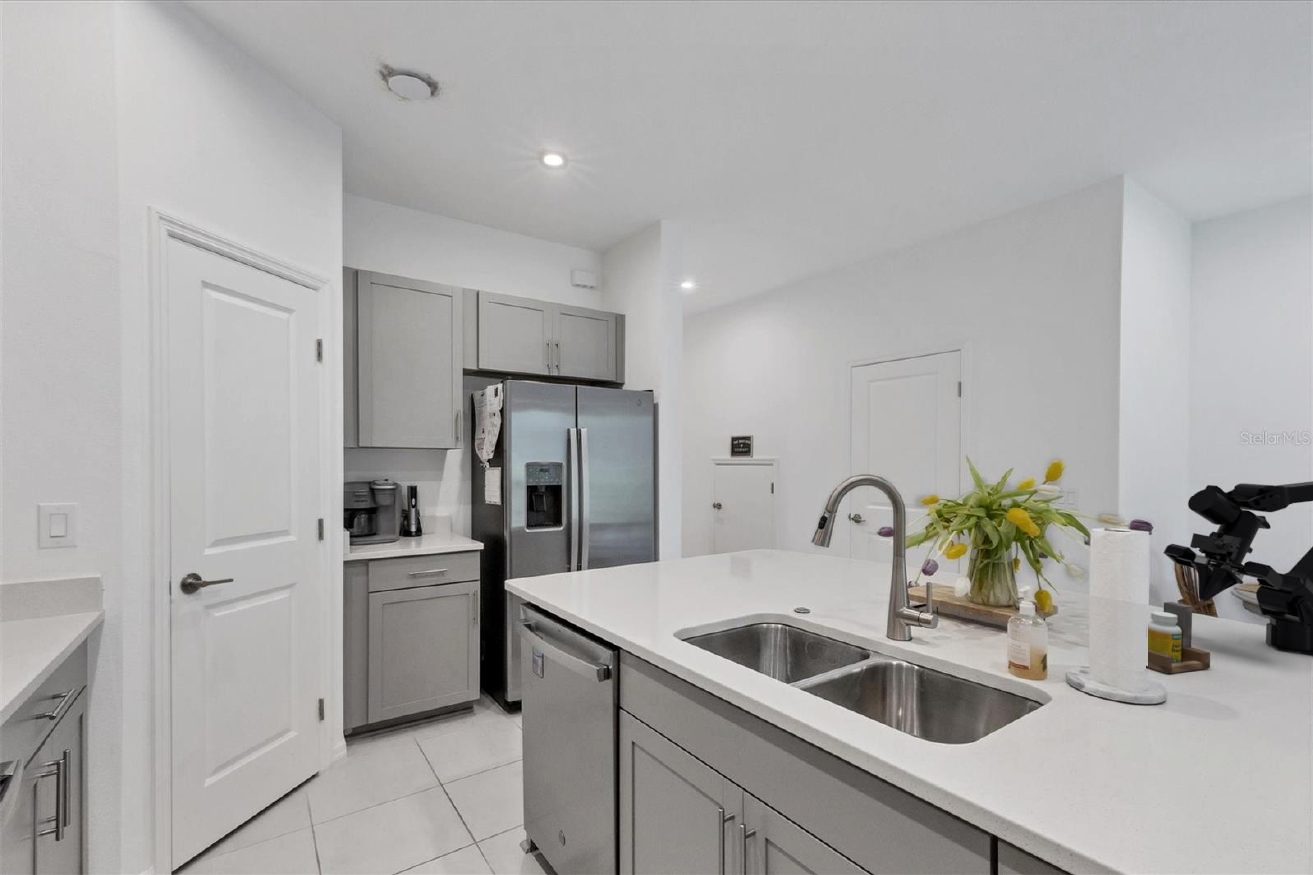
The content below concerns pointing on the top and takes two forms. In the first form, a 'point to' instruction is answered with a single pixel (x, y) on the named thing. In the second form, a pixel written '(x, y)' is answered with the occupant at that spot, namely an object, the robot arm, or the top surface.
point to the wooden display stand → (1189, 655)
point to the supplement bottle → (1165, 635)
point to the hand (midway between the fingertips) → (1202, 600)
